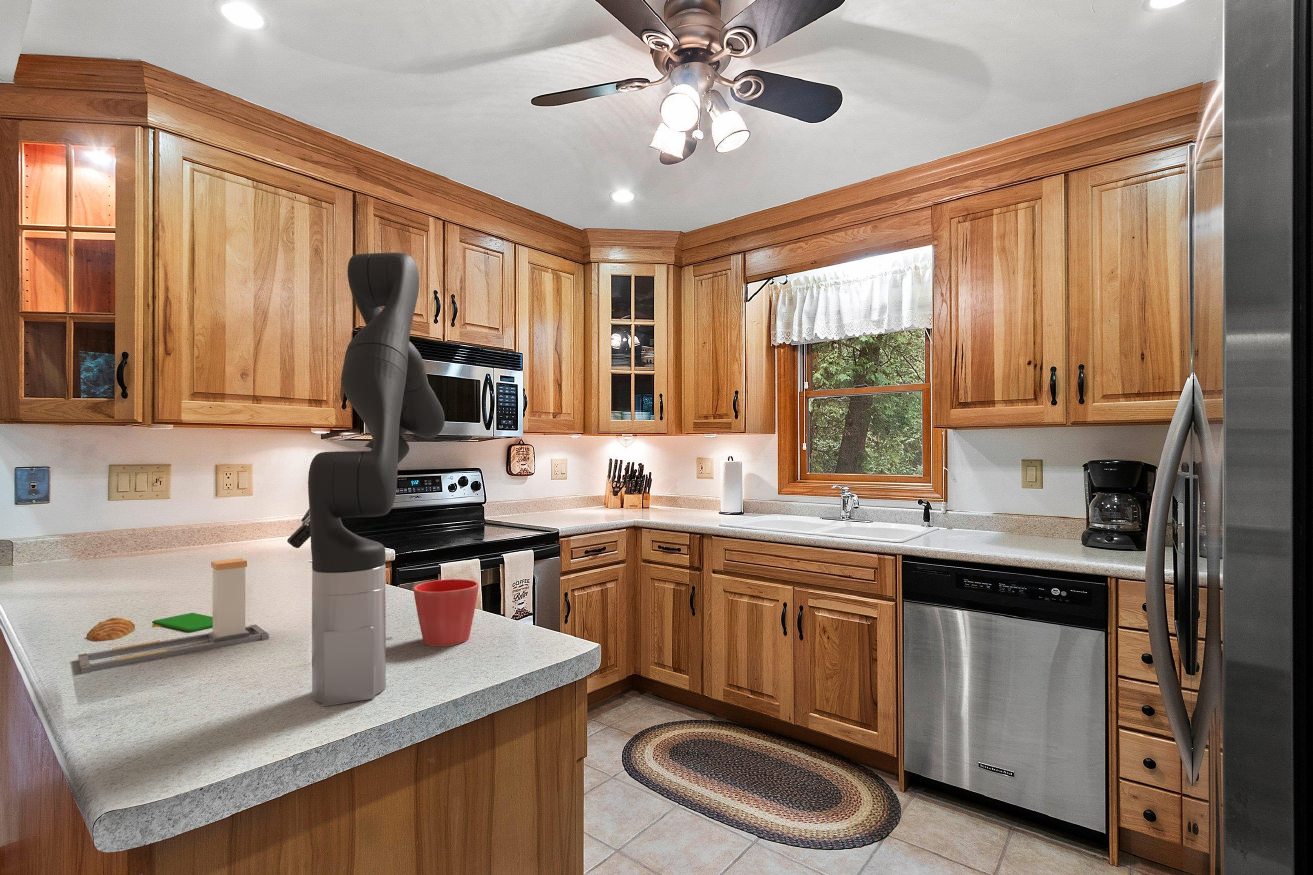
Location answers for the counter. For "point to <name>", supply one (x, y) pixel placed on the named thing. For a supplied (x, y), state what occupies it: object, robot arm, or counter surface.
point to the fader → (228, 599)
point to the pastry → (111, 629)
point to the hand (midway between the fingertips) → (292, 545)
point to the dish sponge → (186, 622)
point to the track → (137, 658)
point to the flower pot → (446, 610)
